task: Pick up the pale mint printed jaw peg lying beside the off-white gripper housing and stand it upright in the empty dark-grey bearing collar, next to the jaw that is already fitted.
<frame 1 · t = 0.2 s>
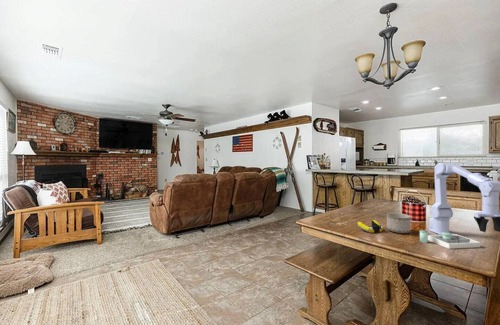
hand: (489, 231, 114), 10 cm above the table, tool pointing down, fingers open, 7 cm apart
housing: (452, 243, 124), on the table
jaw peg: (423, 241, 127), on the table
spring clamp: (371, 231, 147), on the table
planter: (398, 231, 145), on the table
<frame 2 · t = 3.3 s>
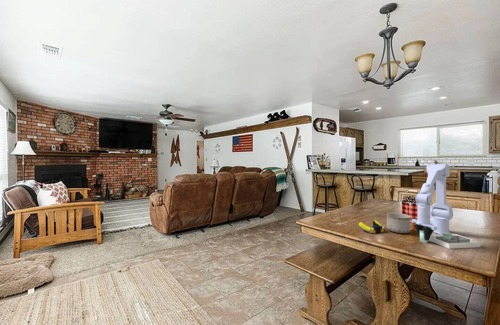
hand: (423, 238, 127), 2 cm above the table, tool pointing down, fingers closed on jaw peg, 4 cm apart
jaw peg: (423, 241, 127), on the table, touching gripper
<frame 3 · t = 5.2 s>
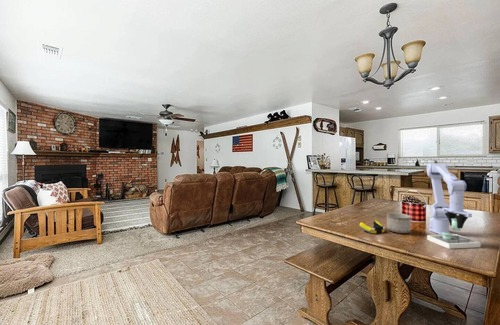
hand: (456, 226, 124), 9 cm above the table, tool pointing down, fingers closed on jaw peg, 4 cm apart
jaw peg: (455, 229, 125), point 7 cm above the table, touching gripper
when the fingers open (4 cm above the table, at t = 7.3 s): jaw peg drops 1 cm, resting on housing.
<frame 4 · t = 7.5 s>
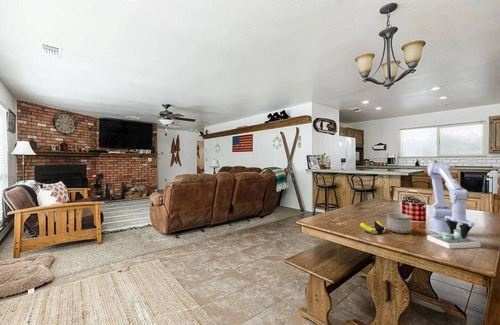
hand: (458, 235, 124), 4 cm above the table, tool pointing down, fingers open, 5 cm apart
jaw peg: (458, 241, 124), point 1 cm above the table, touching housing
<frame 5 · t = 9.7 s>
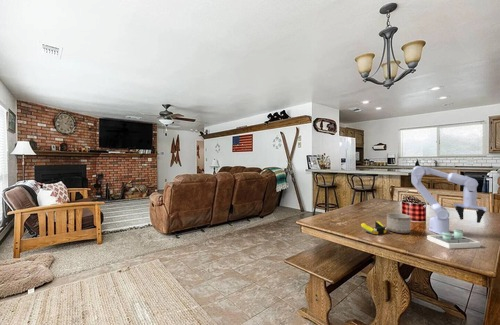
hand: (469, 220, 133), 9 cm above the table, tool pointing down, fingers open, 7 cm apart
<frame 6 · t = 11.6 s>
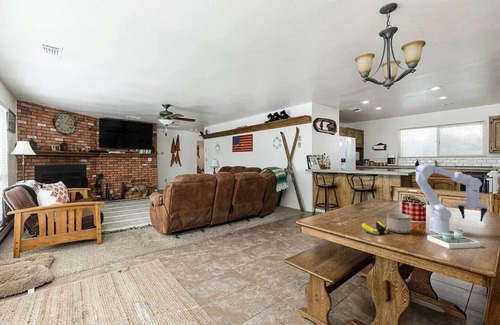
hand: (472, 219, 136), 9 cm above the table, tool pointing down, fingers open, 7 cm apart
at the end: jaw peg 0.1 cm from the target spot on the housing, point 1.0 cm above the housing's base; jaw peg tilted 1°; the gripper is holding nothing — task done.
